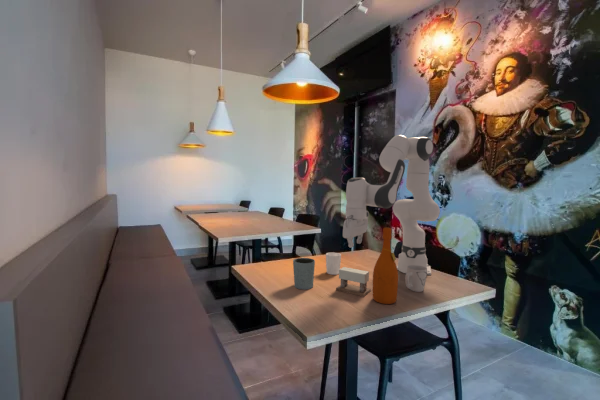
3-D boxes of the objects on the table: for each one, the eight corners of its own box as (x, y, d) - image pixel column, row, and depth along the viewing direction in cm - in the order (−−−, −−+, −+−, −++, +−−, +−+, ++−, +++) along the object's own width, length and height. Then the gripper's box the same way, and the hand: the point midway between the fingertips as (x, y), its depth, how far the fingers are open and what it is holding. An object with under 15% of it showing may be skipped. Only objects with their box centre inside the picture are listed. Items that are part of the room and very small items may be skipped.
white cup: (339, 275, 154) (340, 256, 154) (324, 274, 156) (325, 255, 155) (341, 271, 162) (341, 252, 161) (326, 270, 164) (326, 251, 163)
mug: (413, 295, 129) (414, 272, 129) (397, 289, 137) (398, 267, 136) (430, 290, 136) (431, 268, 135) (414, 284, 143) (415, 264, 142)
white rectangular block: (368, 280, 132) (369, 271, 132) (364, 283, 128) (364, 274, 128) (343, 275, 139) (343, 266, 138) (338, 278, 135) (339, 269, 134)
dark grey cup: (304, 291, 131) (304, 264, 130) (287, 286, 138) (288, 260, 137) (319, 286, 139) (319, 260, 138) (302, 280, 145) (303, 256, 145)
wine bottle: (382, 306, 117) (385, 230, 115) (367, 297, 126) (369, 226, 124) (402, 303, 121) (405, 228, 119) (386, 294, 130) (388, 225, 128)
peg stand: (343, 285, 140) (343, 274, 140) (370, 291, 133) (371, 280, 133) (336, 290, 134) (336, 279, 133) (364, 296, 127) (364, 285, 126)
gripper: (353, 217, 123) (352, 250, 124) (370, 212, 140) (369, 241, 141) (339, 216, 126) (338, 248, 127) (357, 211, 144) (356, 240, 145)
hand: (355, 245), depth 134 cm, fingers open, 8 cm apart
